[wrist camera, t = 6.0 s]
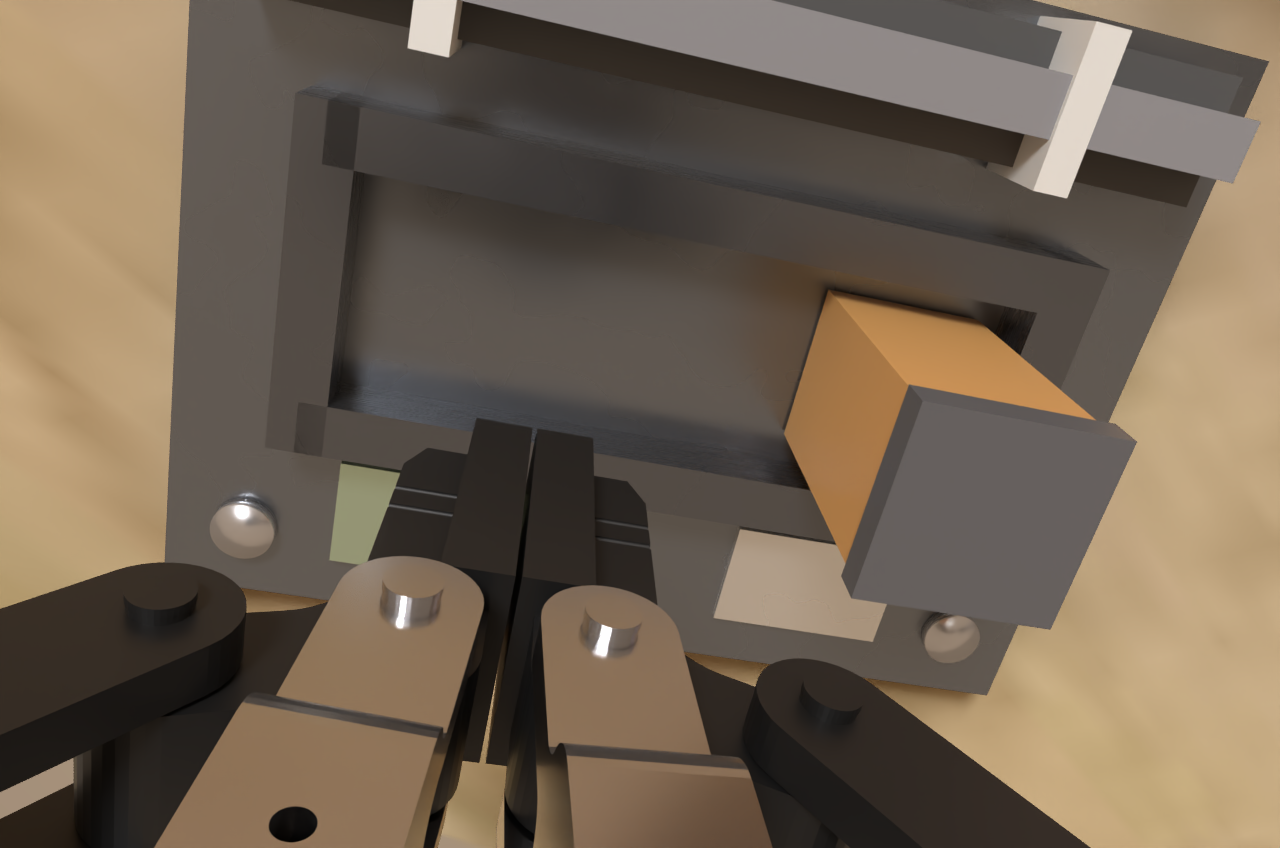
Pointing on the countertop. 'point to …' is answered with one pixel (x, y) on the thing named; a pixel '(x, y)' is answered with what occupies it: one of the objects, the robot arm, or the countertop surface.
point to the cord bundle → (891, 77)
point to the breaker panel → (594, 306)
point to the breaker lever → (948, 463)
